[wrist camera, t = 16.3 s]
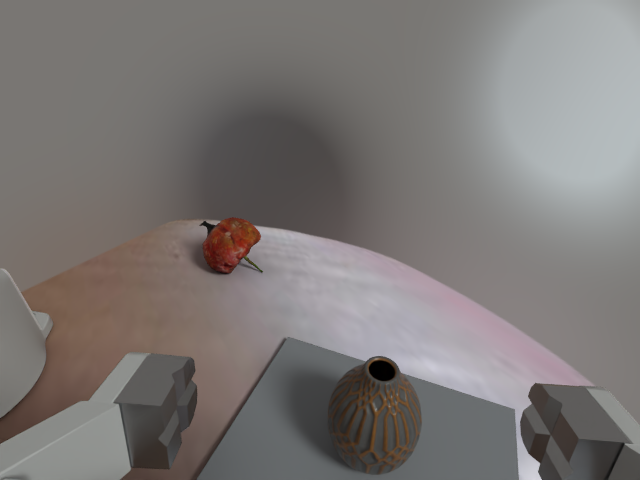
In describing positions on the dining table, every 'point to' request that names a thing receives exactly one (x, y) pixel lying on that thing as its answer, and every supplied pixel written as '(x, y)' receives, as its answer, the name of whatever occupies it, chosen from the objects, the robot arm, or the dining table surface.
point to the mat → (314, 439)
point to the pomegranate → (229, 243)
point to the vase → (374, 417)
